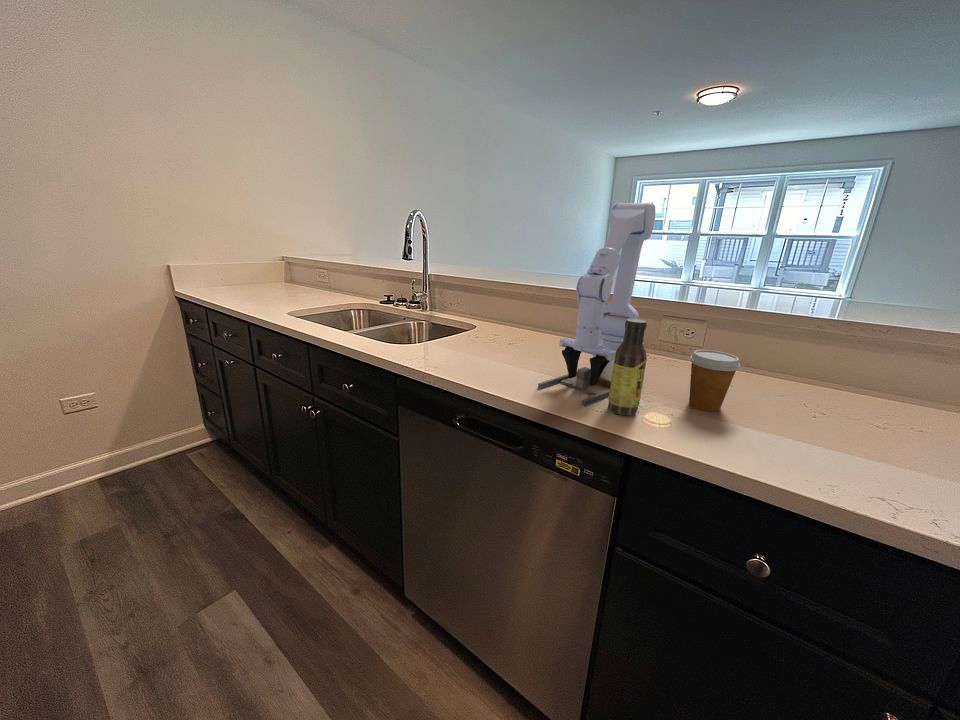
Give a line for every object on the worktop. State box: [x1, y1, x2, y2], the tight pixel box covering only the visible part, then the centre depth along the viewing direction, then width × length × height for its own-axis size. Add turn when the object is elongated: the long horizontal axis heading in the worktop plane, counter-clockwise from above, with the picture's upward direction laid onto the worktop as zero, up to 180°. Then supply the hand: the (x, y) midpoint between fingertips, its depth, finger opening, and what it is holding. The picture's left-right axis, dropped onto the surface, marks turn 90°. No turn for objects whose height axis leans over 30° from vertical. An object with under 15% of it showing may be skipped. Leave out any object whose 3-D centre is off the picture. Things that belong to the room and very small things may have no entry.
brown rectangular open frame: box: [560, 366, 611, 396], centre depth 100 cm, size 15×11×5 cm
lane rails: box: [537, 373, 610, 407], centre depth 97 cm, size 18×13×1 cm
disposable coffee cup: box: [688, 349, 741, 412], centre depth 88 cm, size 10×10×12 cm
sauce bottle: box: [607, 318, 648, 416], centre depth 83 cm, size 6×6×20 cm
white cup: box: [592, 355, 615, 381], centre depth 102 cm, size 7×7×7 cm
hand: (582, 381), depth 97 cm, fingers open, 6 cm apart
